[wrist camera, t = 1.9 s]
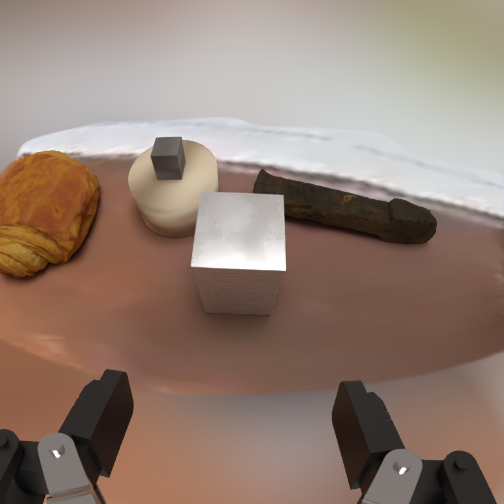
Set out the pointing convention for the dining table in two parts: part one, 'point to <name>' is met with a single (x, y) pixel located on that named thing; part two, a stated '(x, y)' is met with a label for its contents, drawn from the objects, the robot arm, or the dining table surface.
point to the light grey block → (239, 252)
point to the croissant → (44, 211)
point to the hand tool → (351, 210)
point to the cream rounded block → (172, 184)
